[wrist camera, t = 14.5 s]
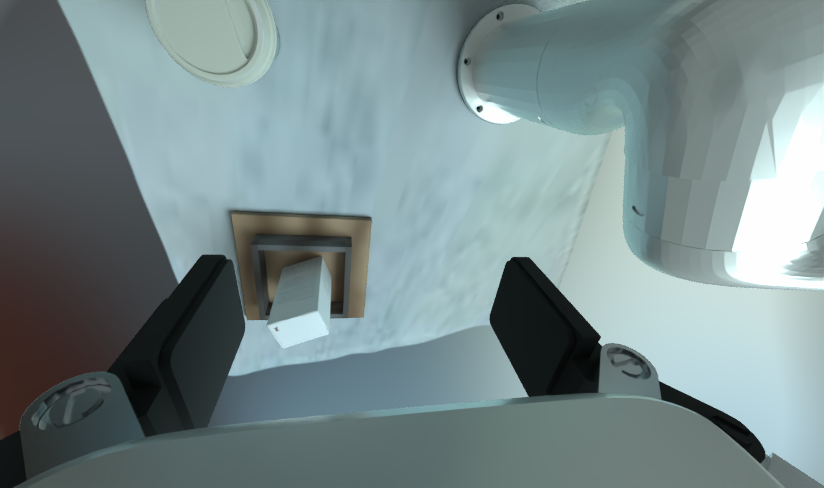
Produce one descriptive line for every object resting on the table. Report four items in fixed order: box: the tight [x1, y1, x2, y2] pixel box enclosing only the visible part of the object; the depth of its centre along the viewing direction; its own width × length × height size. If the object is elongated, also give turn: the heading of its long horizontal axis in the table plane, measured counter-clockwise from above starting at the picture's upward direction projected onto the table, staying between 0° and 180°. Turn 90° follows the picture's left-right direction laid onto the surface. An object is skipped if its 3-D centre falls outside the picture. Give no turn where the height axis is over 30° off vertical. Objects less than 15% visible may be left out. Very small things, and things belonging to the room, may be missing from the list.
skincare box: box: [267, 256, 331, 348], centre depth 41 cm, size 6×4×12 cm
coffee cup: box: [145, 0, 280, 88], centre depth 27 cm, size 8×9×12 cm
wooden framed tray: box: [231, 211, 372, 320], centre depth 45 cm, size 18×18×4 cm
